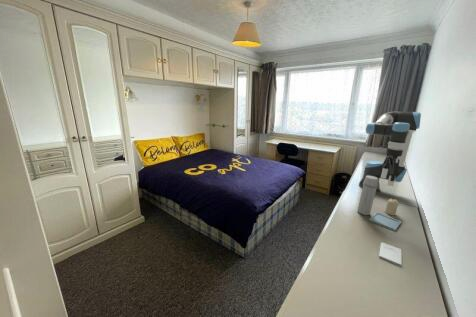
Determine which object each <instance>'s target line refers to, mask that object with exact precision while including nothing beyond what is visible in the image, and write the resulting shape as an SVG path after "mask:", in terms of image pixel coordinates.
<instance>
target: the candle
mask: <svg viewBox="0 0 476 317" xmlns="http://www.w3.org/2000/svg"><path fill="white" fill-rule="evenodd" d="M398 207H399V201H398V200H397V199H395V198H394V199H393V198H390V199H388V200H387V202H386V207H385V211H384V212H385V213H386V214H387V215H390V216H396V213H397V210H398Z"/></svg>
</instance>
